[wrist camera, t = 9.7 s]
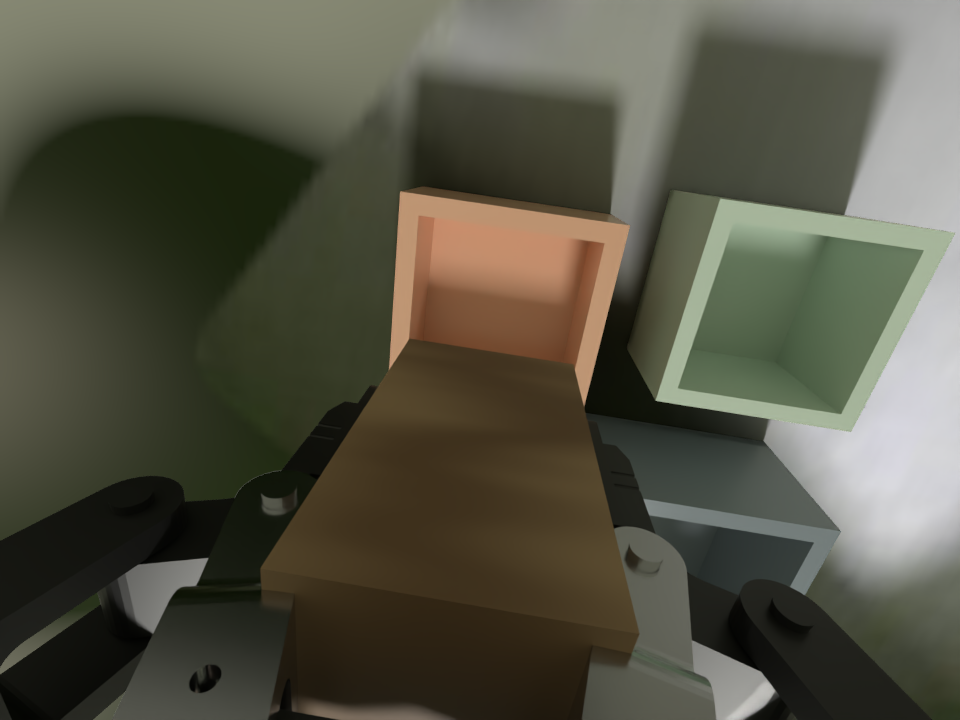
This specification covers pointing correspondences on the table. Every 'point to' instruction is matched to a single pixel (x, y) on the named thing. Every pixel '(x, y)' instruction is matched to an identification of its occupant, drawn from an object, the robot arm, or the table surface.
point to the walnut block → (455, 548)
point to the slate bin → (724, 504)
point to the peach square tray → (505, 276)
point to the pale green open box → (776, 307)
